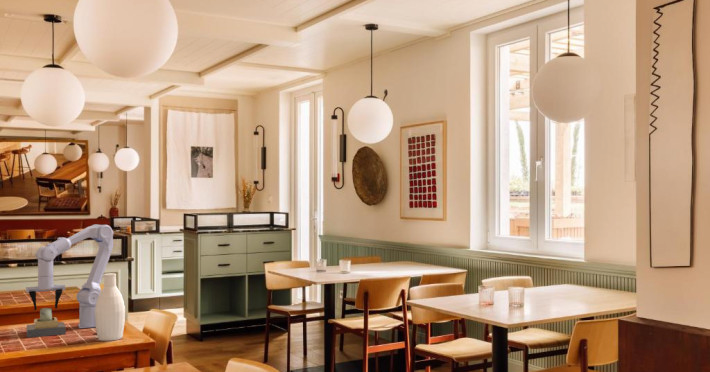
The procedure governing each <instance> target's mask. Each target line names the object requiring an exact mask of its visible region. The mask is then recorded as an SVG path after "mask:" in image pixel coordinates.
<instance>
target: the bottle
mask: <svg viewBox="0 0 710 372" xmlns="http://www.w3.org/2000/svg"><path fill="white" fill-rule="evenodd" d="M103 276H104V277H103V287H102V289H101V292H100V295H99V297H98V300H97V303H96V308H95V320H96V327H95V329H96V336H97V339H98V340H99V341H102V342H109V341H110V342H114V341H118V340H121V339H122V338H123V336H124V329H125V322H126V321H125V319H126V317H125V316H126V307H125V301H124V298H123V295H122V293H121V291H120V290H119V288H118V286H117V273H115V272H112V273H104V274H103Z"/></svg>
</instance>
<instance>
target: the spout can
mask: <svg viewBox="0 0 710 372" xmlns="http://www.w3.org/2000/svg"><path fill="white" fill-rule="evenodd" d="M52 318H53V308H52V307H43V308H40V309H39V319H40V322H41V321H52Z"/></svg>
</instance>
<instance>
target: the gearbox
mask: <svg viewBox="0 0 710 372" xmlns="http://www.w3.org/2000/svg"><path fill="white" fill-rule="evenodd" d="M33 323H34V324H26V338H36V337H37V338H38V337H50V336H60V335H66V332H67V331H66V329H67V328H66V325H65V321H59V320H58V317H56V316H54V317H53V316H52V321H41V322H40V318H34V320H33Z"/></svg>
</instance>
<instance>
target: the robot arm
mask: <svg viewBox="0 0 710 372" xmlns="http://www.w3.org/2000/svg"><path fill="white" fill-rule="evenodd" d="M114 234H115V232H114V231H113V229H112V227H111V226H110V225H108V224H98V223H97V224H92V225H90V226H87V227H85V228H84V229H82V230H80V231H78V232H77V233H74V234H73V235H71V236H69V237H63V236H62V237H57V240H55V241H53V242H51V243H49V242H48V243H47V244H46V246H45V245H43V246H40V247H38V249H37V250H36V253H34V256H35V258H36V260H37V286H30V287H26V288H25V293H26V294H28V295H29V296H30V298H31V301H32V303H33V307H34V311H37V292H52V291H53V292H54V291H55V293H54V295H55V296H54V298H55V300H54V308H55V309H58V304H59V301H60V298H61V296H62V293H63V291H66V285H65V284H61V285H60V284H59V285H56V284H55V285H54V259H55V258H56V257H58V256H59V255H61V254H63V253H65V252H67V251H69V250H70V249H71V246H73V245H75V244H78V243H79V242H81V241H84V240H85V239H88V238H90V239H93V240H94V241H95V243H96V244H97V246H98V250H97V254H96V256H95V257H94V261H93V263H92V267H91V270H90V272H89V274H88V278H87V281H86V282H85V283H84V284H83V285H82V286H81V289H79V291H78V292H77V293H76V300H77V302H78V303H79V309H78V310H79V323H78V324H77V327H78V329H85V328H87V329H88V328H96V320H95V308H96V303H97V300H98V297H99V295H100V293H101V291H102V289H101V288H102V287H101V286H100V285H101V281H102V279H103V278H104V277H103V276H104V274H105V272H106V269H107V265H108V263H109V260H110V257H111V254H112V251H113V249H114V238H113V237H114Z"/></svg>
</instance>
